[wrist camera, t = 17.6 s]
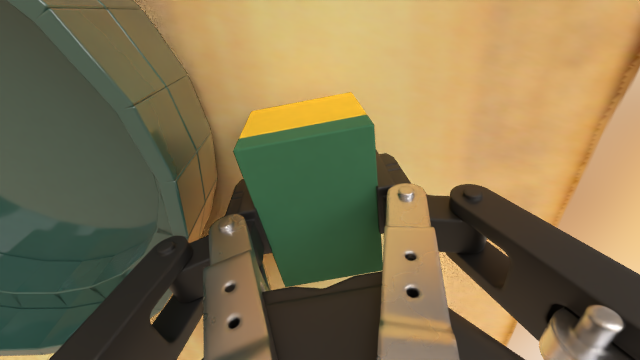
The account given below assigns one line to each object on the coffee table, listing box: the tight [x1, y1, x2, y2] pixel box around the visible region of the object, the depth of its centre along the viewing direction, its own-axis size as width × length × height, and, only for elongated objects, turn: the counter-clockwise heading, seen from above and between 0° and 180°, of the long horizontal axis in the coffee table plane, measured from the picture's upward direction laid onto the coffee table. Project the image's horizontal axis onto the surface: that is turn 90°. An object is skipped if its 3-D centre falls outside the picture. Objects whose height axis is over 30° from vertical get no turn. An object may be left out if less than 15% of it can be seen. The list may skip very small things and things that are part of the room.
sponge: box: [233, 92, 383, 287], centre depth 12 cm, size 7×4×4 cm, turn 10°
